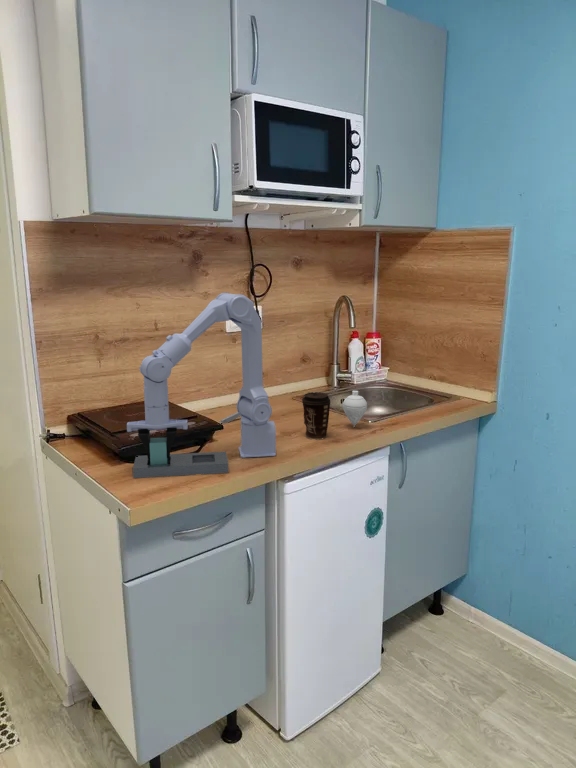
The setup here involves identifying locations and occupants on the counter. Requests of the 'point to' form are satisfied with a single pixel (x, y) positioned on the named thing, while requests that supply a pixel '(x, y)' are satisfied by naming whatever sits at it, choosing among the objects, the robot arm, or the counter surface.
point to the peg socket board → (182, 465)
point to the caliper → (230, 418)
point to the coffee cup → (316, 414)
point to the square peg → (158, 451)
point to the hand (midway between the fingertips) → (159, 457)
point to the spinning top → (354, 407)
